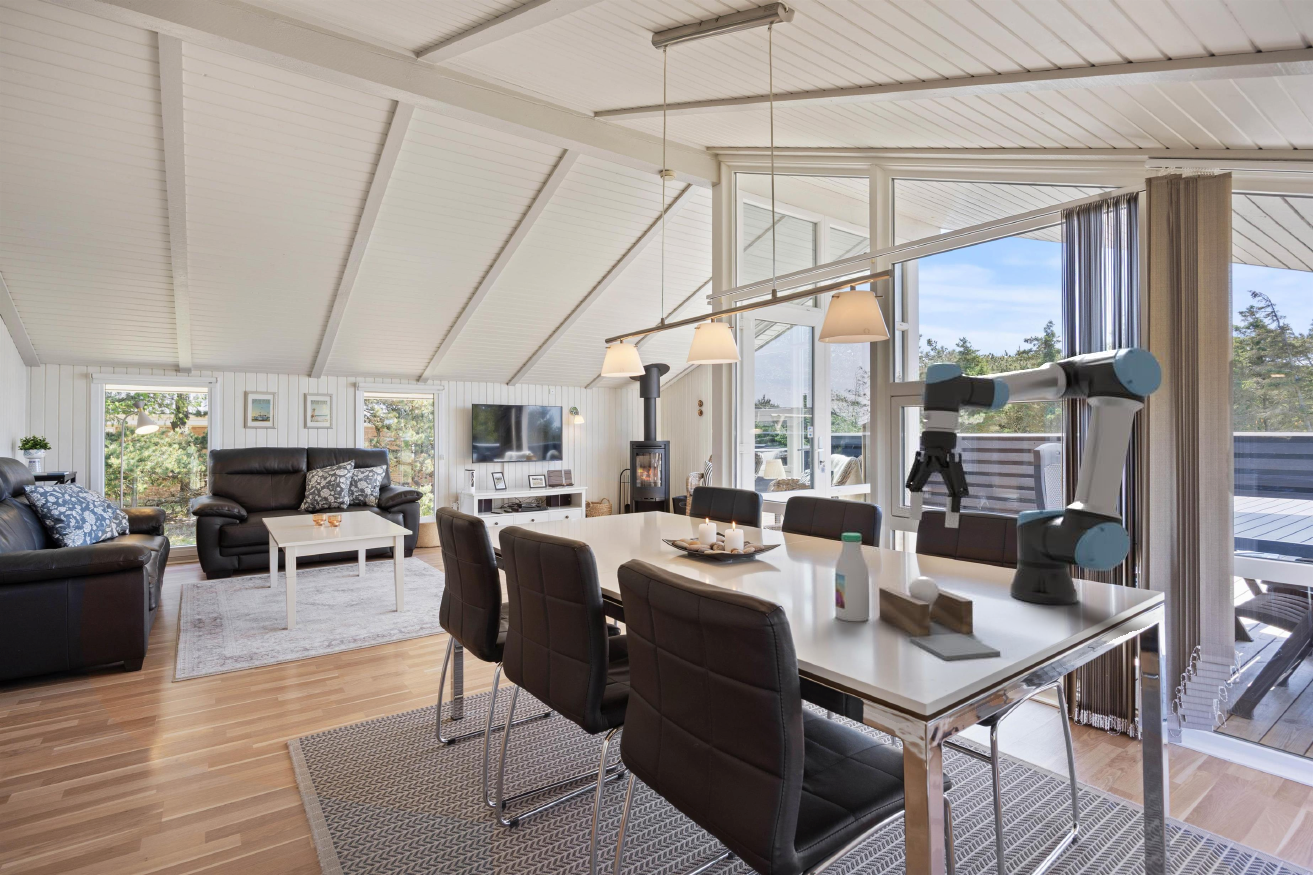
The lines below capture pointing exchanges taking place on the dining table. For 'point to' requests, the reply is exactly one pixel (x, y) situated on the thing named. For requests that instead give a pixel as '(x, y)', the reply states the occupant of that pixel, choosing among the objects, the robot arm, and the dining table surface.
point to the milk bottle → (852, 581)
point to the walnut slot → (925, 611)
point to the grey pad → (954, 646)
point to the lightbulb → (924, 590)
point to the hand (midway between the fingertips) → (932, 523)
